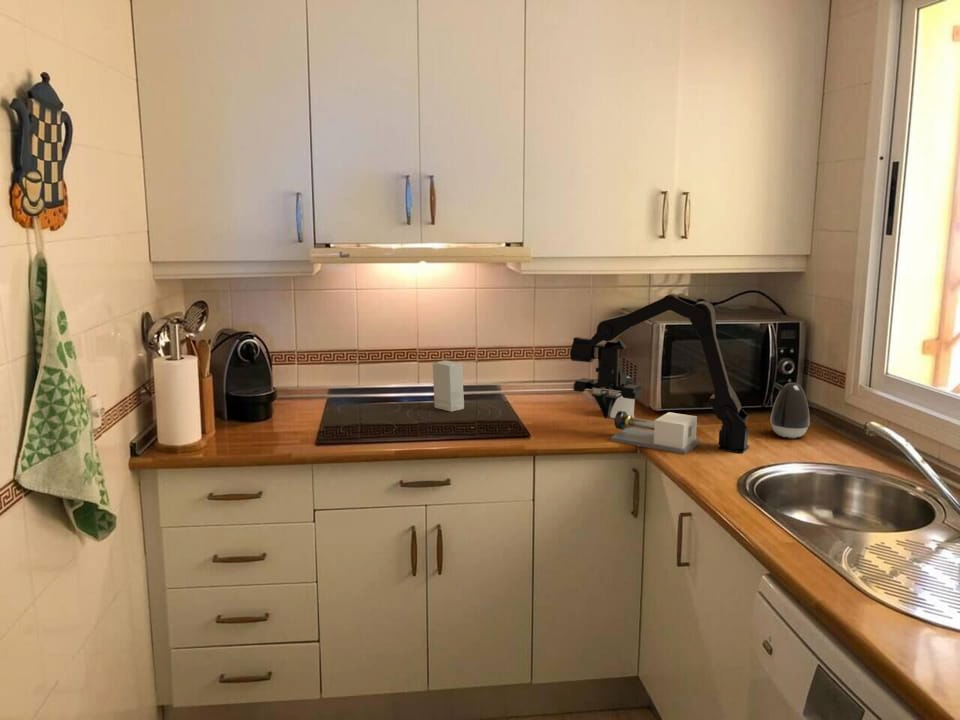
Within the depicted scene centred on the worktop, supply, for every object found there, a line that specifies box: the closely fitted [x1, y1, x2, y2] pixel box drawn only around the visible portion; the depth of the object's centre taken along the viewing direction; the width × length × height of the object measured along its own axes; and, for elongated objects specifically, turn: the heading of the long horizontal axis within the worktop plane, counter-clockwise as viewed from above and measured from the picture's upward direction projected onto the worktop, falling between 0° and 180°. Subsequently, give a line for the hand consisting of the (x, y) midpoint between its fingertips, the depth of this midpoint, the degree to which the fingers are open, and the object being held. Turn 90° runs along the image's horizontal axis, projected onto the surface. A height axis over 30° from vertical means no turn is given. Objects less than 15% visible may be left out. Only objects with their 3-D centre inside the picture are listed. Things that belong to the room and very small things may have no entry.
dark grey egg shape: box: [769, 382, 811, 439], centre depth 223 cm, size 10×10×15 cm
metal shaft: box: [614, 411, 655, 431], centre depth 219 cm, size 16×5×5 cm, turn 56°
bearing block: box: [609, 411, 701, 455], centre depth 217 cm, size 21×12×8 cm, turn 56°
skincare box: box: [432, 360, 465, 412], centre depth 251 cm, size 8×6×15 cm
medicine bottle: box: [609, 376, 636, 419], centre depth 243 cm, size 7×7×12 cm
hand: (606, 418), depth 225 cm, fingers closed
